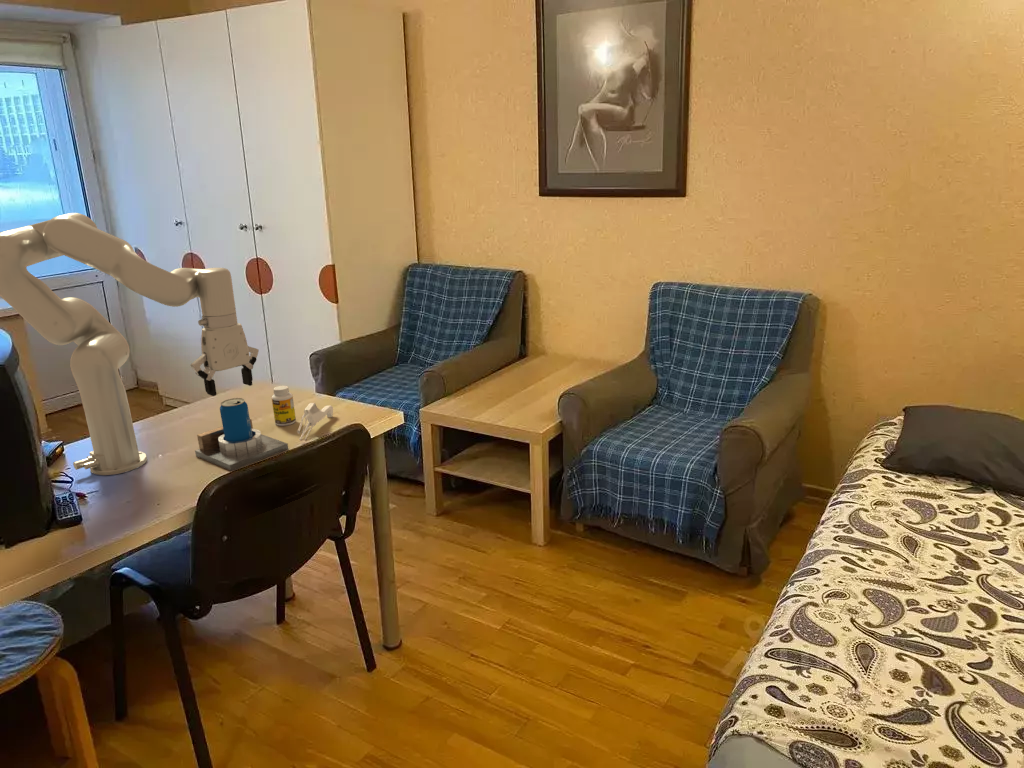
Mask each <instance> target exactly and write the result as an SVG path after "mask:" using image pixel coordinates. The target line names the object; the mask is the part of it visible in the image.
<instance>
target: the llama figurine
mask: <svg viewBox="0 0 1024 768" xmlns="http://www.w3.org/2000/svg"><path fill="white" fill-rule="evenodd" d="M333 415H334V407H333V406H332V405H324V407H323V408H321V409H320V408H319V407H318V406H317V404H316V402H309V403H308V405H307V406H306V407H305V408H304V410H303V415H302V416H301V420H300V424H299V426H298V429H296V433H297V434H299V435H300V434H301V436H300V437H299V440H300V441H302V440H303V437H304V435H305V434H306V436H305V438H304V440H305V441H307V438H308V436H309V435H310V433H311V430H312V429H313V427H315V426H316V425H317V423H319V422H320V421H322V420H323V419H324V418H325V417H327V418H333V417H334V416H333ZM332 416H333V417H332ZM304 418H305V419H304ZM303 422H304V425H303ZM302 426H303V428H302ZM309 428H310V429H309ZM301 429H302V430H301ZM308 429H309V430H308ZM300 431H301V432H300ZM307 431H308V432H307Z"/></svg>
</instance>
